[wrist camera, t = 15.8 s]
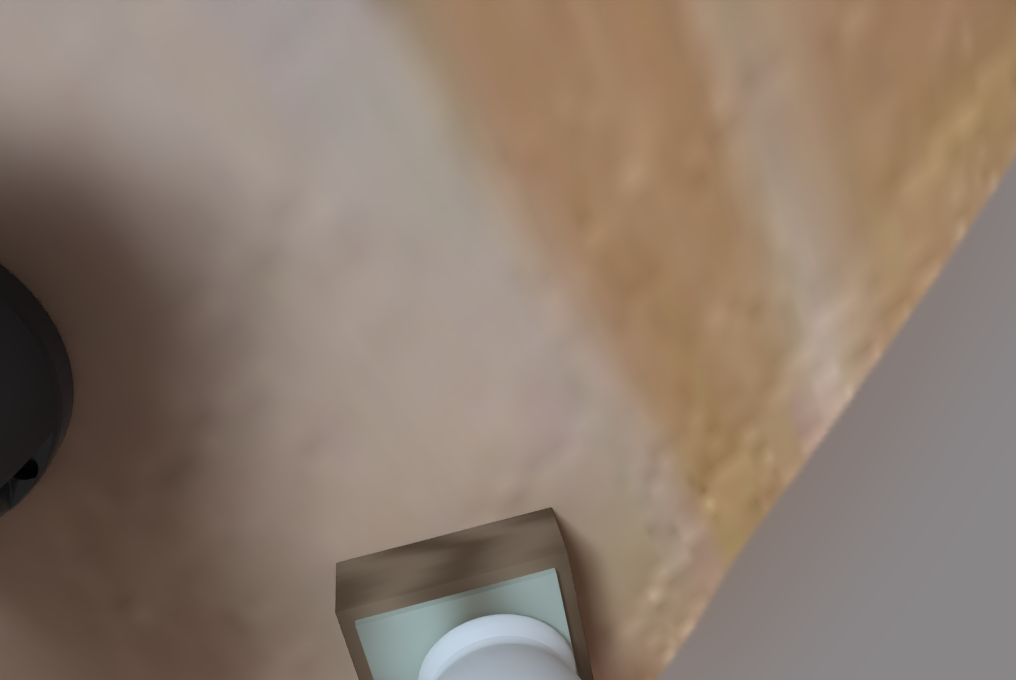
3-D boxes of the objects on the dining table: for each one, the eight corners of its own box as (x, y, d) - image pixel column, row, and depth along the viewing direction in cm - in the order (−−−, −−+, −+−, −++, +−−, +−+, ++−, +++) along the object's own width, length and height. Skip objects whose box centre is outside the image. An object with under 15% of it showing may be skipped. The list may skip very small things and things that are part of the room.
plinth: (390, 722, 55) (393, 783, 51) (336, 563, 50) (335, 617, 46) (585, 669, 56) (603, 725, 52) (551, 507, 50) (568, 556, 46)
